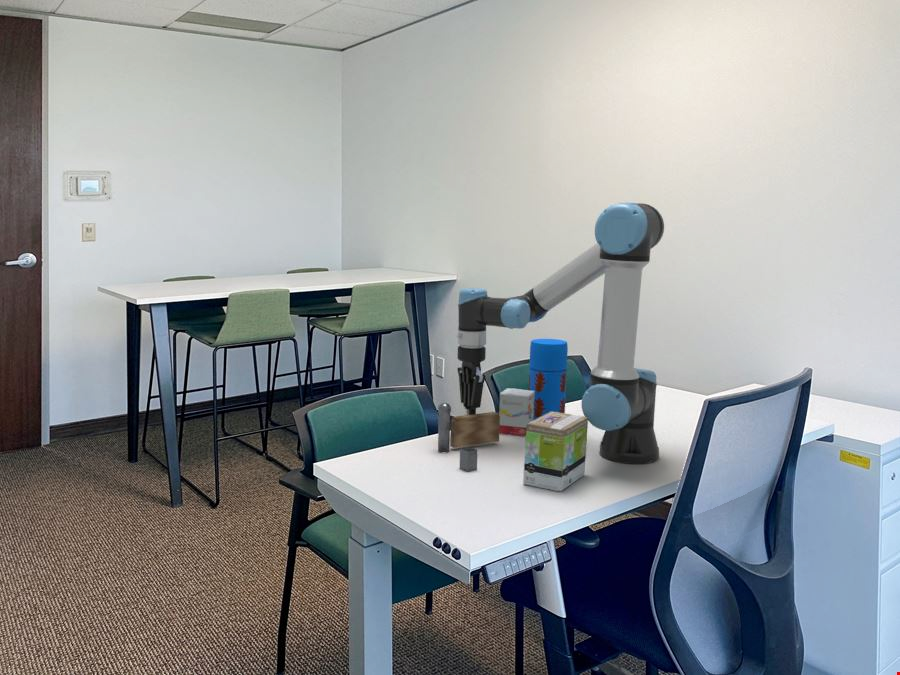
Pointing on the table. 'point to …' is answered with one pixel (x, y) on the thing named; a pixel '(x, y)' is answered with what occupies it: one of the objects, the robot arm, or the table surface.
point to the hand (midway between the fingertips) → (469, 431)
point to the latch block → (468, 459)
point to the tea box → (555, 450)
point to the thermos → (548, 375)
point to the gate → (474, 429)
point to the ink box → (516, 411)
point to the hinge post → (444, 427)
